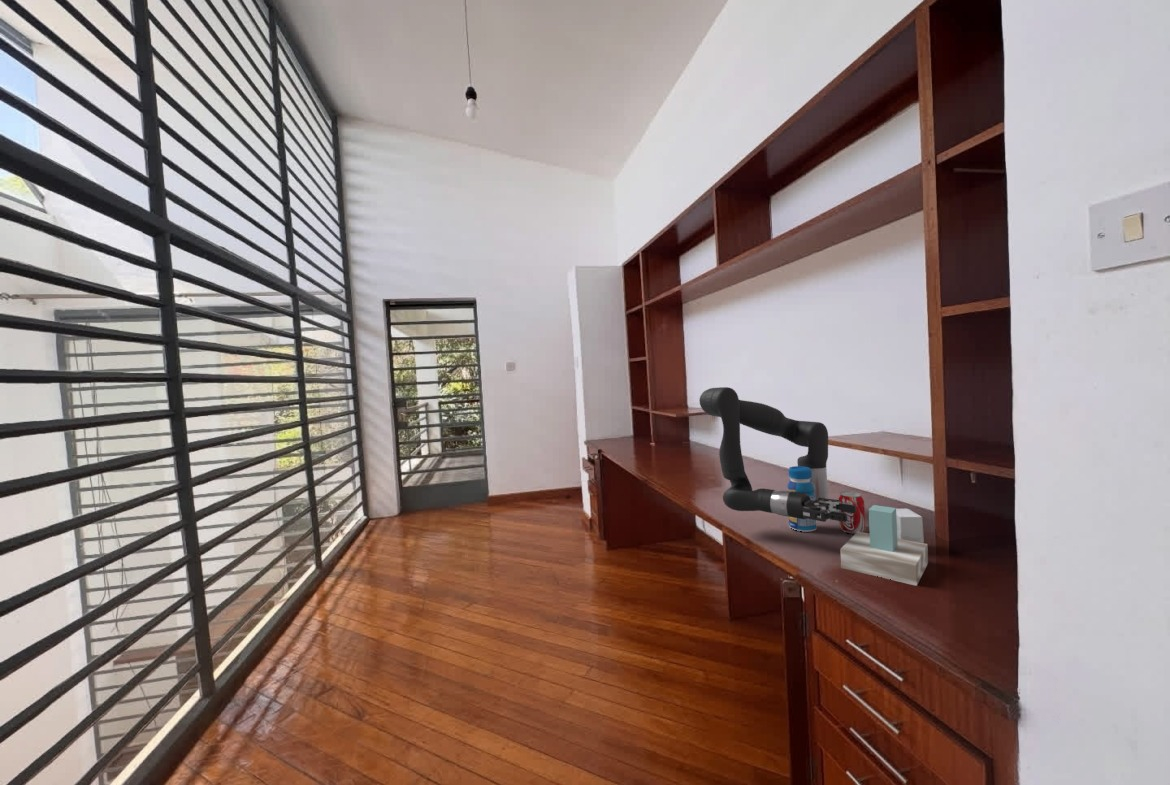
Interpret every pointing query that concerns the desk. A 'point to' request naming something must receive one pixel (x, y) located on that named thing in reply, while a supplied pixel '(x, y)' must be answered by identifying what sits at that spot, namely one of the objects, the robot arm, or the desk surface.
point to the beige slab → (885, 559)
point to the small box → (909, 526)
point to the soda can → (853, 519)
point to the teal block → (883, 528)
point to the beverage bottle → (802, 485)
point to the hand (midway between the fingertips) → (851, 513)
